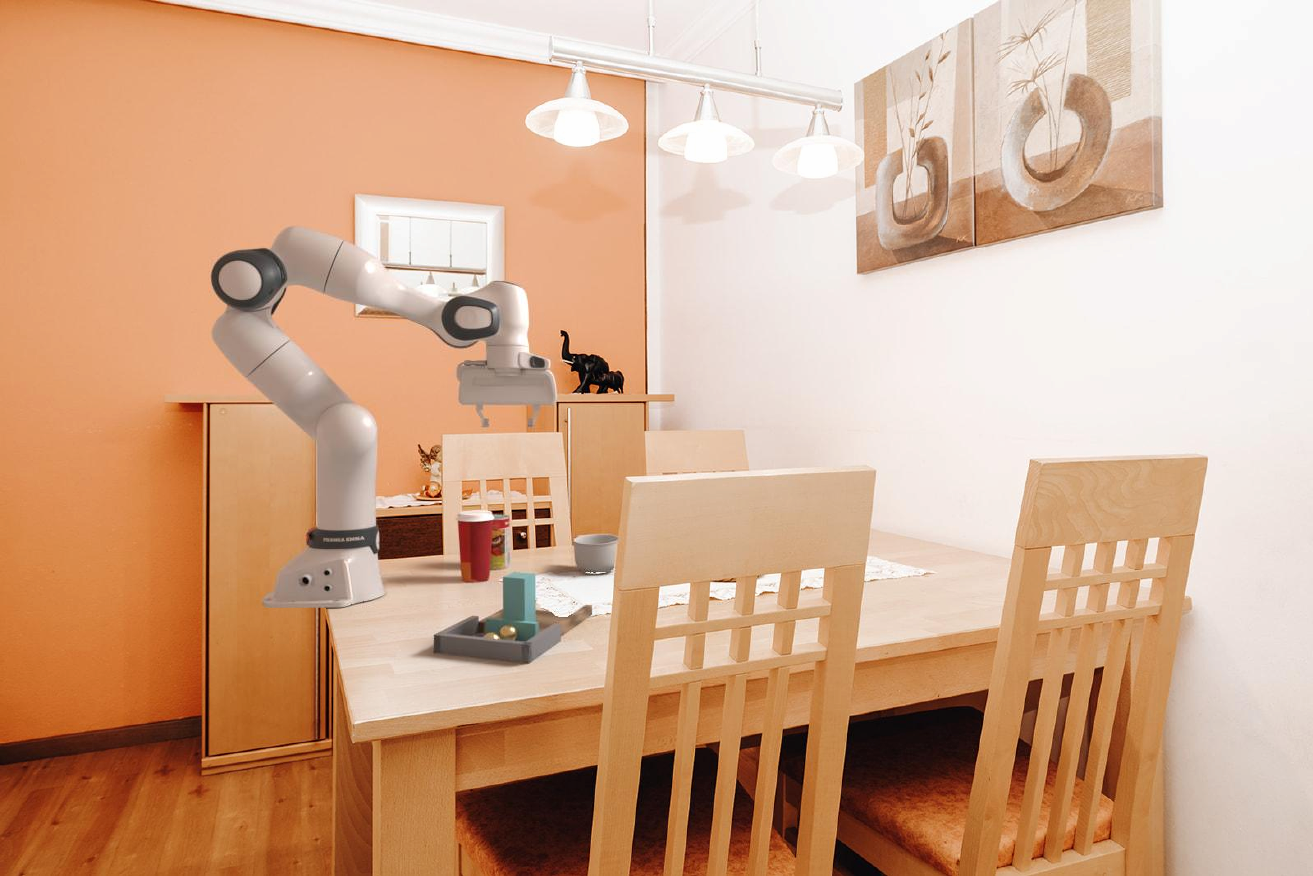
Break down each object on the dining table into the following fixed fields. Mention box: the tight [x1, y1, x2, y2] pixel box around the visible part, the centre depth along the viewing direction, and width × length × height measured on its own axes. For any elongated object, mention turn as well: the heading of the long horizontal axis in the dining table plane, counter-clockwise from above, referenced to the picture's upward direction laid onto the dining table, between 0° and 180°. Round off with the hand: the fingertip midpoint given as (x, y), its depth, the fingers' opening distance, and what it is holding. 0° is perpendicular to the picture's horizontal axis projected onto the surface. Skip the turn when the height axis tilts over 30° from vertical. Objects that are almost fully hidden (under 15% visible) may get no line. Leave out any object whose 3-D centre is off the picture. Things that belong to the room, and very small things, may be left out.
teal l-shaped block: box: [486, 571, 539, 641], centre depth 130 cm, size 5×9×10 cm, turn 73°
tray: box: [433, 615, 562, 665], centre depth 124 cm, size 12×16×3 cm
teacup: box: [572, 533, 619, 573], centre depth 181 cm, size 14×11×8 cm
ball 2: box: [499, 625, 517, 641], centre depth 125 cm, size 3×3×3 cm
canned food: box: [490, 514, 511, 571], centre depth 185 cm, size 8×8×12 cm
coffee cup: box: [455, 509, 494, 583], centre depth 171 cm, size 8×8×15 cm
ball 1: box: [484, 632, 500, 639], centre depth 121 cm, size 3×3×3 cm
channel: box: [479, 604, 593, 637], centre depth 136 cm, size 17×14×2 cm
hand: (508, 427), depth 162 cm, fingers open, 8 cm apart
